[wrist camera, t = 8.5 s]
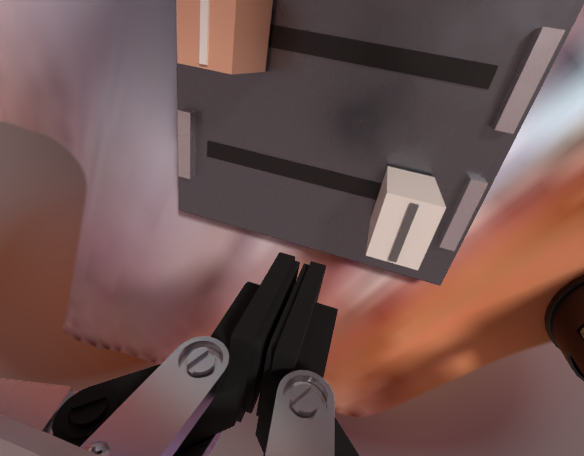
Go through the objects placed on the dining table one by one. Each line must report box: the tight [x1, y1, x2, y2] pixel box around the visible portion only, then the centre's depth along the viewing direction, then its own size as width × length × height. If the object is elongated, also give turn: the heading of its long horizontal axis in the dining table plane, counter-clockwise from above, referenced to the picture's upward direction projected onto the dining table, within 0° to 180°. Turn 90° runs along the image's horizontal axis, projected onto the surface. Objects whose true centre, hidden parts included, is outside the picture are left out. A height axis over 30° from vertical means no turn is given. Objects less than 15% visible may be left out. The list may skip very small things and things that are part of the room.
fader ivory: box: [366, 166, 446, 270], centre depth 19 cm, size 4×3×5 cm
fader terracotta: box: [177, 0, 273, 74], centre depth 17 cm, size 4×3×5 cm
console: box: [176, 0, 584, 285], centre depth 21 cm, size 20×22×3 cm
